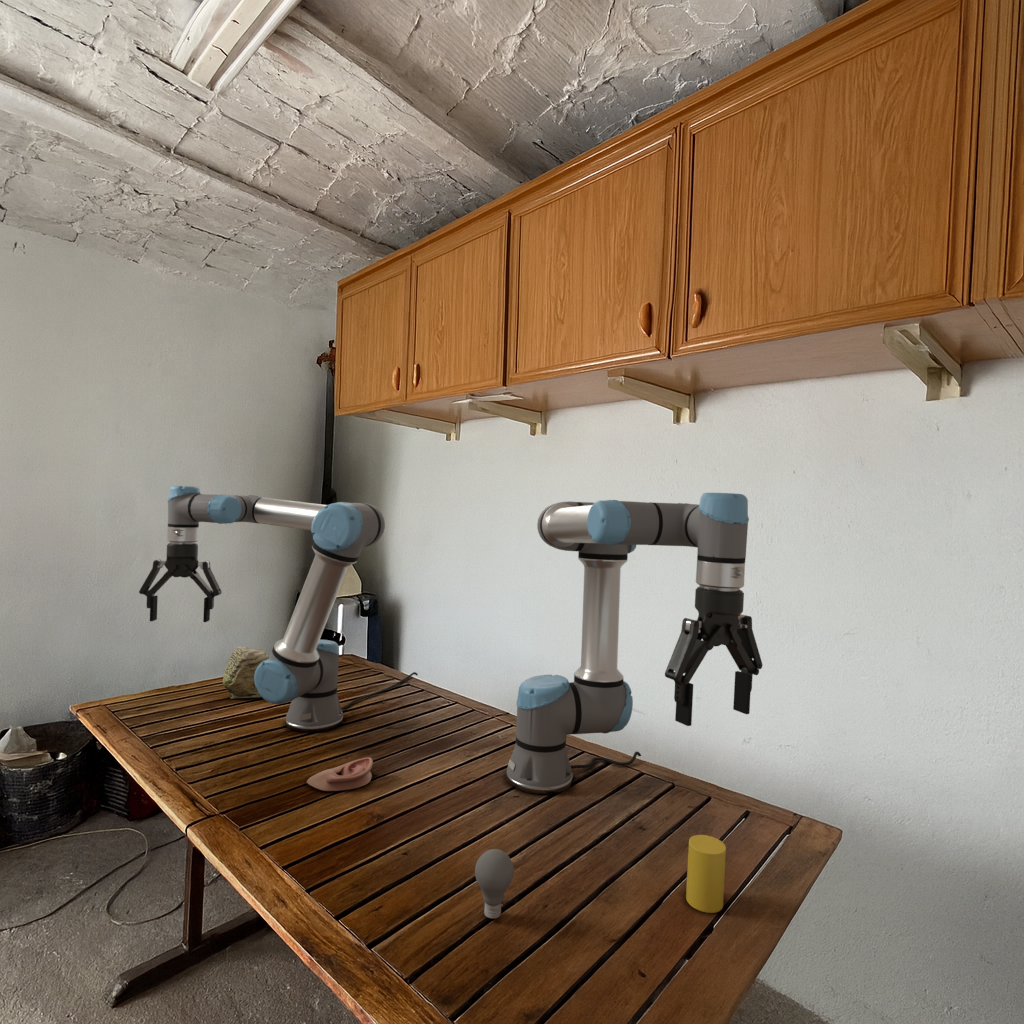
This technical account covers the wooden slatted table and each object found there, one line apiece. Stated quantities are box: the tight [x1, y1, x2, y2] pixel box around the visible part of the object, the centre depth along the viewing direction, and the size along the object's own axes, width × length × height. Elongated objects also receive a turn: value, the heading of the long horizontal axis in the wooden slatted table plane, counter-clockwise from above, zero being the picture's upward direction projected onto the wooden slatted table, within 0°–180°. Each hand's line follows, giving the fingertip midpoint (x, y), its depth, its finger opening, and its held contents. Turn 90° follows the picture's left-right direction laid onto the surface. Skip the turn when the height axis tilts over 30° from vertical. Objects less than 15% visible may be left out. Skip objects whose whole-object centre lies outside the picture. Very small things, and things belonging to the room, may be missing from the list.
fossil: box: [222, 646, 270, 699], centre depth 198 cm, size 9×18×15 cm, turn 132°
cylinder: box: [685, 834, 727, 914], centre depth 104 cm, size 6×6×10 cm
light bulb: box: [474, 848, 515, 919], centre depth 98 cm, size 6×6×10 cm
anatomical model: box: [306, 756, 374, 792], centre depth 141 cm, size 13×4×12 cm
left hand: (180, 620), depth 172 cm, fingers open, 13 cm apart
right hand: (713, 717), depth 103 cm, fingers open, 13 cm apart
